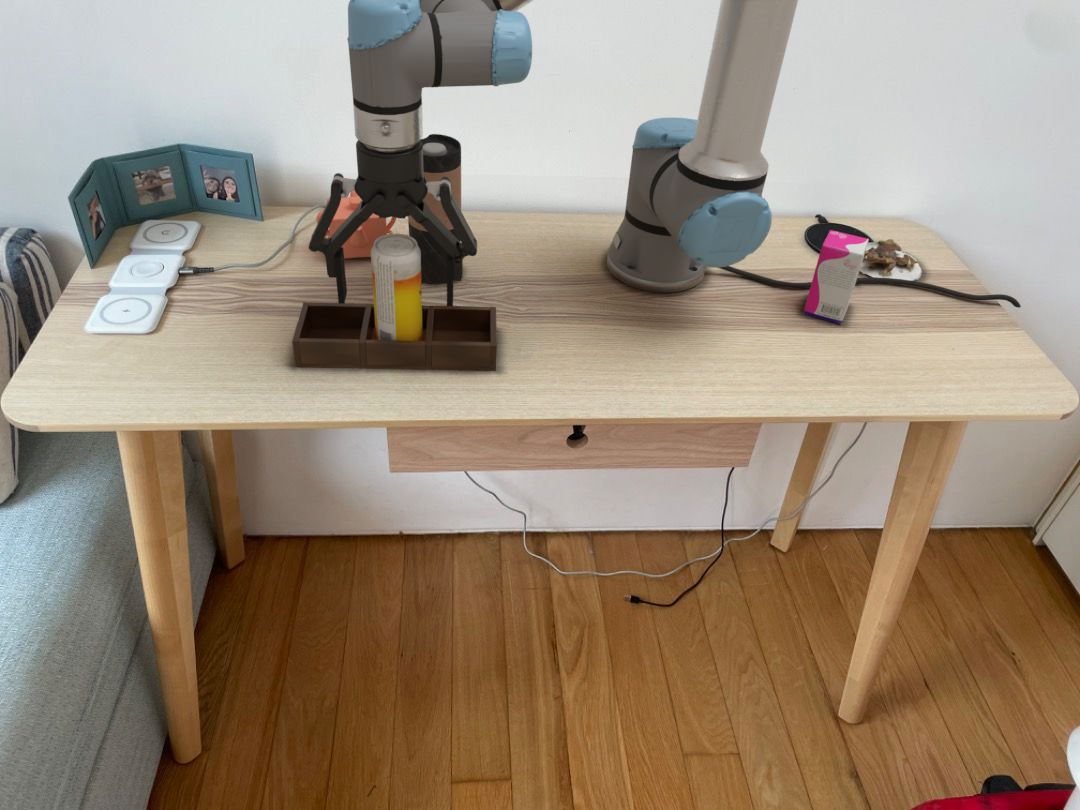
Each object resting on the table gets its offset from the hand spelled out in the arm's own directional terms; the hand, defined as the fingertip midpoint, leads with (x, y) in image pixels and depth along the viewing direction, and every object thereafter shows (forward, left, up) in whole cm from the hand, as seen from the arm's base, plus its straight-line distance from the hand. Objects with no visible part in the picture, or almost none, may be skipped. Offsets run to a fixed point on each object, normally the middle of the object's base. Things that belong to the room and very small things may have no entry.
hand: (396, 299), depth 116 cm
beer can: (0, 0, -7) cm, 7 cm away
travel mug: (-4, -20, -8) cm, 22 cm away
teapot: (+8, -26, -8) cm, 28 cm away
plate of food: (-76, -26, -8) cm, 81 cm away
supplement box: (-62, -12, -8) cm, 64 cm away
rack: (0, 0, -8) cm, 8 cm away
